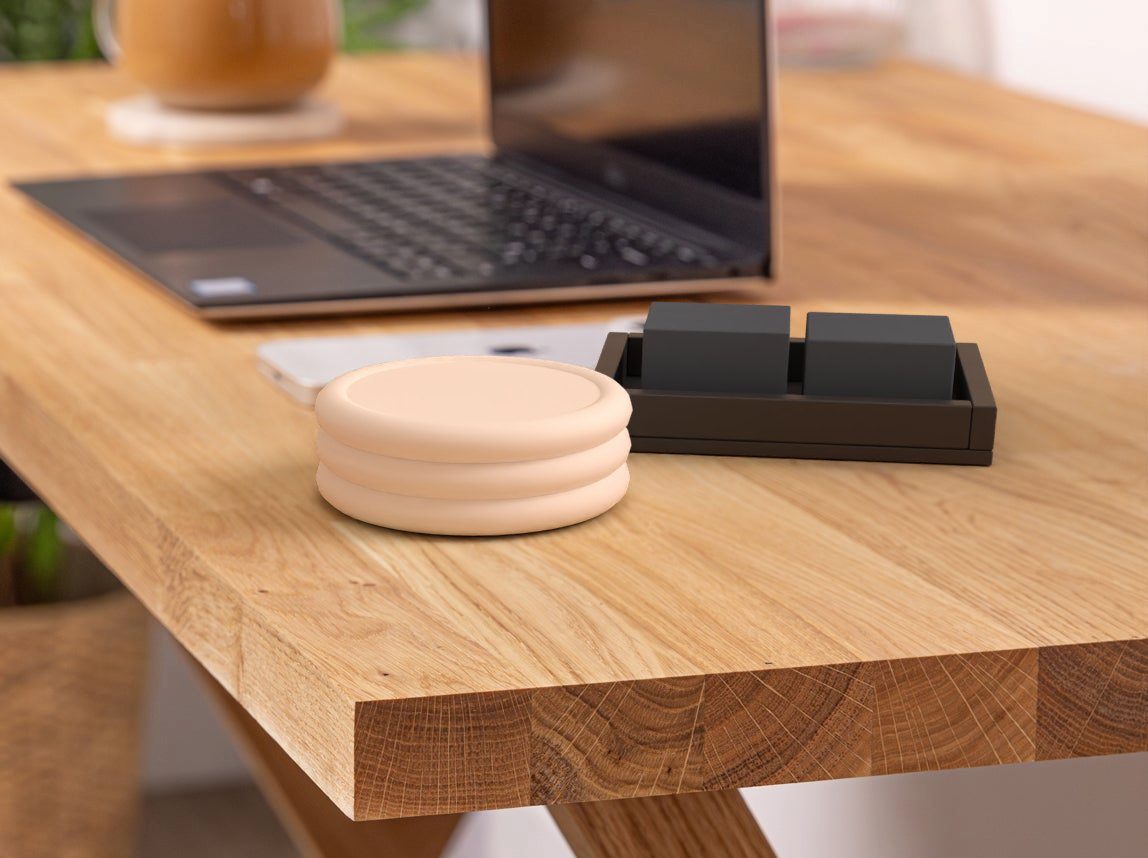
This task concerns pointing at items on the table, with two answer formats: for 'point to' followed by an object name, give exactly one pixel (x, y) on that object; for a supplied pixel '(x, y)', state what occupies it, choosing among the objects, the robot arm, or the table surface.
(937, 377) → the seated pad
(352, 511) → the coaster
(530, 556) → the table surface
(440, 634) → the table surface
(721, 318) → the dark grey block
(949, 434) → the tray
